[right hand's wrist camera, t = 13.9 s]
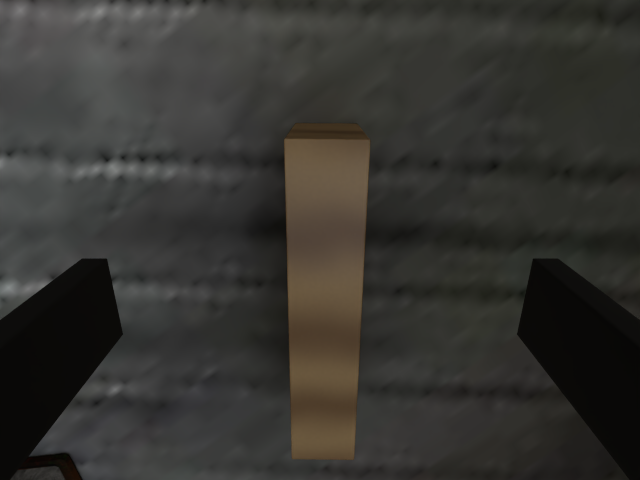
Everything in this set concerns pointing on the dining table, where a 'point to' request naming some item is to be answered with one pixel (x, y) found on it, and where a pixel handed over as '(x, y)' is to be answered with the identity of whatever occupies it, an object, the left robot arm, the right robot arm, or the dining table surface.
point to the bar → (325, 283)
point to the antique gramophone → (47, 469)
